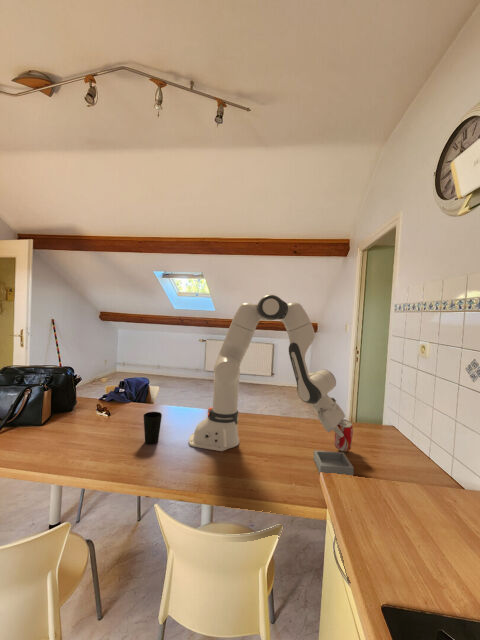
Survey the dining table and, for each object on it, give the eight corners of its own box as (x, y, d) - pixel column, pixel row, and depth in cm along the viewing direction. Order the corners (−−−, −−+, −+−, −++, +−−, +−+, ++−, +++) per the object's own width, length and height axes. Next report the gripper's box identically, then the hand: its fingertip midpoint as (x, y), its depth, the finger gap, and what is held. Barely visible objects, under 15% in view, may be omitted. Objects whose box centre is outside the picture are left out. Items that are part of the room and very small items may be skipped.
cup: (164, 442, 128) (165, 415, 128) (148, 447, 122) (149, 419, 122) (154, 436, 133) (155, 410, 133) (139, 441, 128) (140, 414, 127)
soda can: (349, 455, 124) (352, 429, 121) (332, 449, 127) (334, 425, 124) (352, 445, 130) (354, 421, 127) (335, 440, 133) (337, 416, 130)
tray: (320, 475, 108) (320, 465, 108) (313, 458, 120) (313, 450, 120) (353, 477, 107) (353, 468, 107) (343, 460, 119) (343, 452, 119)
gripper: (322, 407, 120) (344, 437, 115) (335, 397, 138) (355, 423, 133) (310, 415, 123) (332, 445, 118) (325, 404, 140) (344, 430, 135)
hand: (344, 433), depth 125 cm, fingers closed on soda can, 5 cm apart
